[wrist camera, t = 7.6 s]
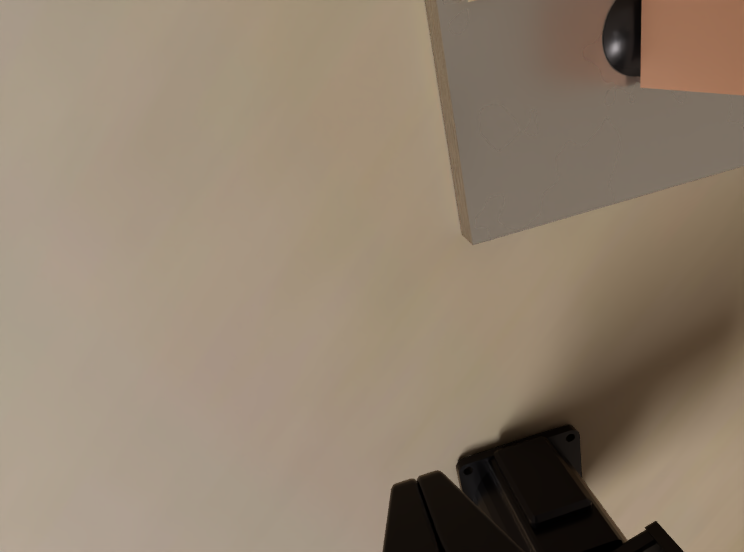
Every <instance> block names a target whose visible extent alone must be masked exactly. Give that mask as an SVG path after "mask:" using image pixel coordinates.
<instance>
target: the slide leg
mask: <svg viewBox="0 0 744 552" xmlns="http://www.w3.org/2000/svg"><path fill="white" fill-rule="evenodd" d="M640 88H651V89H664V90H678V91H691V92H704V93H717V94H730V95H743V96H744V0H642V11H641V78H640Z"/></svg>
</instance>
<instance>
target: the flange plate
mask: <svg viewBox="0 0 744 552" xmlns="http://www.w3.org/2000/svg"><path fill="white" fill-rule="evenodd" d="M425 4H426V11H427V17H428V23H429V30H430V36H431V42H432V49H433V55H434V61H435V68H436V74H437V80H438V87H439V93H440V99H441V106H442V112H443V118H444V125H445V131H446V137H447V144H448V150H449V156H450V163H451V169H452V175H453V182H454V188H455V194H456V201H457V207H458V213H459V220H460V226H461V232H462V235H463V236H464V237H465V238H466V239H467V240H468V241H469V242H470V243H471V244H472V245H475V244H478V243H482V242H485V241H489V240H492V239H495V238H499V237H502V236H506V235H509V234H513V233H516V232H519V231H523V230H526V229H530V228H533V227H537V226H540V225H543V224H547V223H550V222H554V221H557V220H561V219H564V218H567V217H571V216H574V215H578V214H581V213H585V212H588V211H591V210H595V209H598V208H602V207H605V206H609V205H612V204H615V203H619V202H622V201H626V200H629V199H633V198H636V197H639V196H643V195H646V194H650V193H653V192H657V191H660V190H663V189H667V188H670V187H674V186H677V185H681V184H684V183H687V182H691V181H694V180H698V179H701V178H705V177H708V176H711V175H715V174H718V173H722V172H725V171H729V170H732V169H735V168H739V167H742V166H744V96H743V95H730V94H717V93H704V92H691V91H678V90H664V89H651V88H640V78H641V11H642V0H475V1H471V2H468V0H425Z"/></svg>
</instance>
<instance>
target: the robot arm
mask: <svg viewBox="0 0 744 552" xmlns="http://www.w3.org/2000/svg"><path fill="white" fill-rule="evenodd" d="M467 467H468V468H467ZM456 470H457V475H458V480H459V484H460V489H461V490H460V489H459V488H458V487H457V486H456V485H455V484H454V483H453V482H452V481H451V480H450V479H449V478H448V477H447V476H446V475H445V474H443V473H442V472H441V471H438V470H437V471H433V472H430V473H427V474H424V475H421V476H419V477H418V478H417V481H416V480H415V479H408V480H405V481H402V482H399V483H396V484H394V485H393V486H392V489H391V494H390V501H389V509H388V516H387V523H386V531H385V538H384V545H383V552H683V550H682V549H681V548H680V547H679V546H678V545H677V544H676V543H675V541H674V540H673V539H672V538H671V537H670V536H669V535H668V534H667V533H666V531H665V530H664V529H663V528H662V527H661V526H660V525H659V524H658V523H657V521H655V522H653V523H651V524H650V525H648V526H646V527H645V529H646V530H645V531H643V532H641V533H640V534H638V535H636V536H635V537H633V538H631V539H630V540H627V539H626V537H625V536H624V535H623V533H622V532H621V531H620V529H619V528H618V527H617V525H616V524H615V522H614V521H613V520H612V518H611V517H610V516H609V514H608V513H607V512H606V510H605V509H604V508H603V506H602V505H601V503H600V502H599V501H598V499H597V498H596V497H595V495H594V494H593V493H592V491H591V490H590V489H589V487H588V486H587V484H586V483H585V482H584V480H583V479H582V472H581V453H580V435H579V432H578V431H577V430H576V428H575V427H574V426H572V425H565V426H562V427H559V428H556V429H553V430H550V431H546V432H543V433H540V434H537V435H534V436H531V437H528V438H525V439H522V440H519V441H515V442H512V443H509V444H506V445H503V446H500V447H497V448H494V449H491V450H488V451H484V452H481V453H478V454H475V455H472V456H469V457H466V458H463V459H461V460H460V461H459V462H458V463H457V465H456Z"/></svg>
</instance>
